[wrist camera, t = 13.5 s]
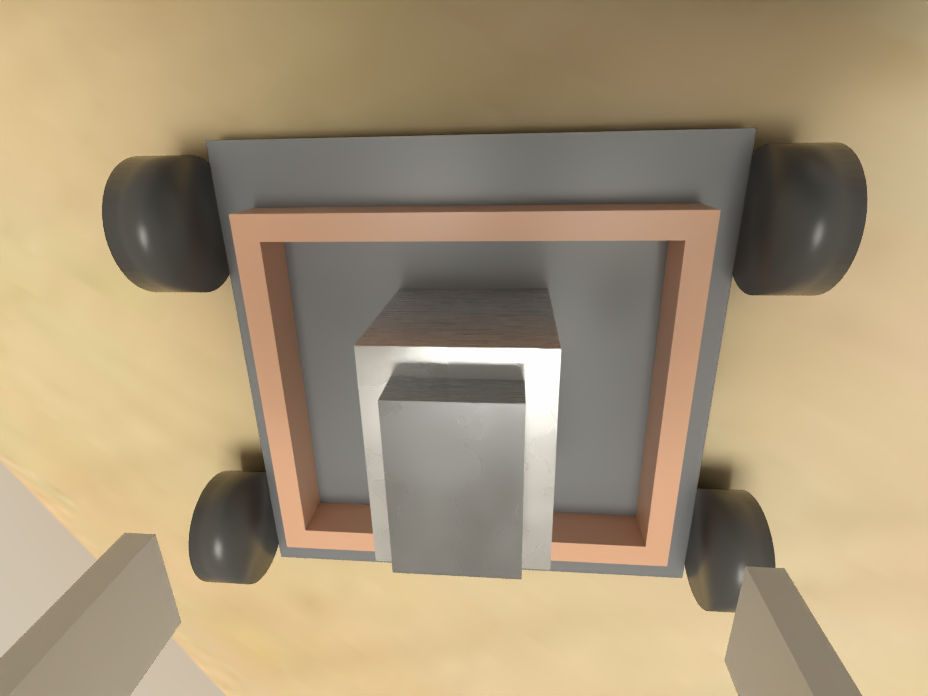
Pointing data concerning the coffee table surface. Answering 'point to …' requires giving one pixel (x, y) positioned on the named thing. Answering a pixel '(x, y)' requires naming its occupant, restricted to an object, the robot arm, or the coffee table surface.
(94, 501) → the coffee table surface
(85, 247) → the coffee table surface
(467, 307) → the block
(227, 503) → the chassis
